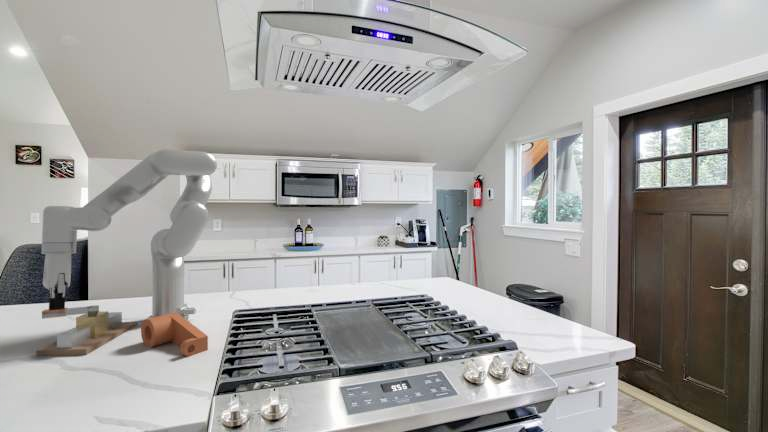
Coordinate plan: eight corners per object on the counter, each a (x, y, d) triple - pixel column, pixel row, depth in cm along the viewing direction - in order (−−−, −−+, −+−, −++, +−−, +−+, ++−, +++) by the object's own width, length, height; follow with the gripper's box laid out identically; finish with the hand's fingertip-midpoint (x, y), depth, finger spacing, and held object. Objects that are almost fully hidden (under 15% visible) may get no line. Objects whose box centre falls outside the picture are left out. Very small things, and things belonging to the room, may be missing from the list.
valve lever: (99, 310, 109) (99, 304, 109) (97, 313, 106) (97, 306, 106) (44, 316, 103) (44, 309, 103) (41, 318, 100) (41, 311, 100)
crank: (141, 344, 104) (141, 317, 104) (169, 336, 111) (169, 310, 111) (178, 360, 93) (178, 329, 93) (207, 350, 100) (207, 321, 100)
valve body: (107, 323, 117) (107, 303, 117) (124, 323, 118) (124, 303, 118) (54, 348, 95) (54, 324, 95) (74, 348, 96) (74, 323, 96)
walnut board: (98, 327, 118) (98, 322, 118) (137, 326, 119) (137, 321, 119) (36, 356, 94) (36, 350, 94) (86, 354, 95) (86, 349, 95)
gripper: (37, 247, 107) (35, 309, 107) (46, 250, 97) (43, 319, 97) (70, 246, 113) (68, 305, 112) (81, 249, 103) (79, 314, 103)
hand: (56, 311), depth 105 cm, fingers closed
